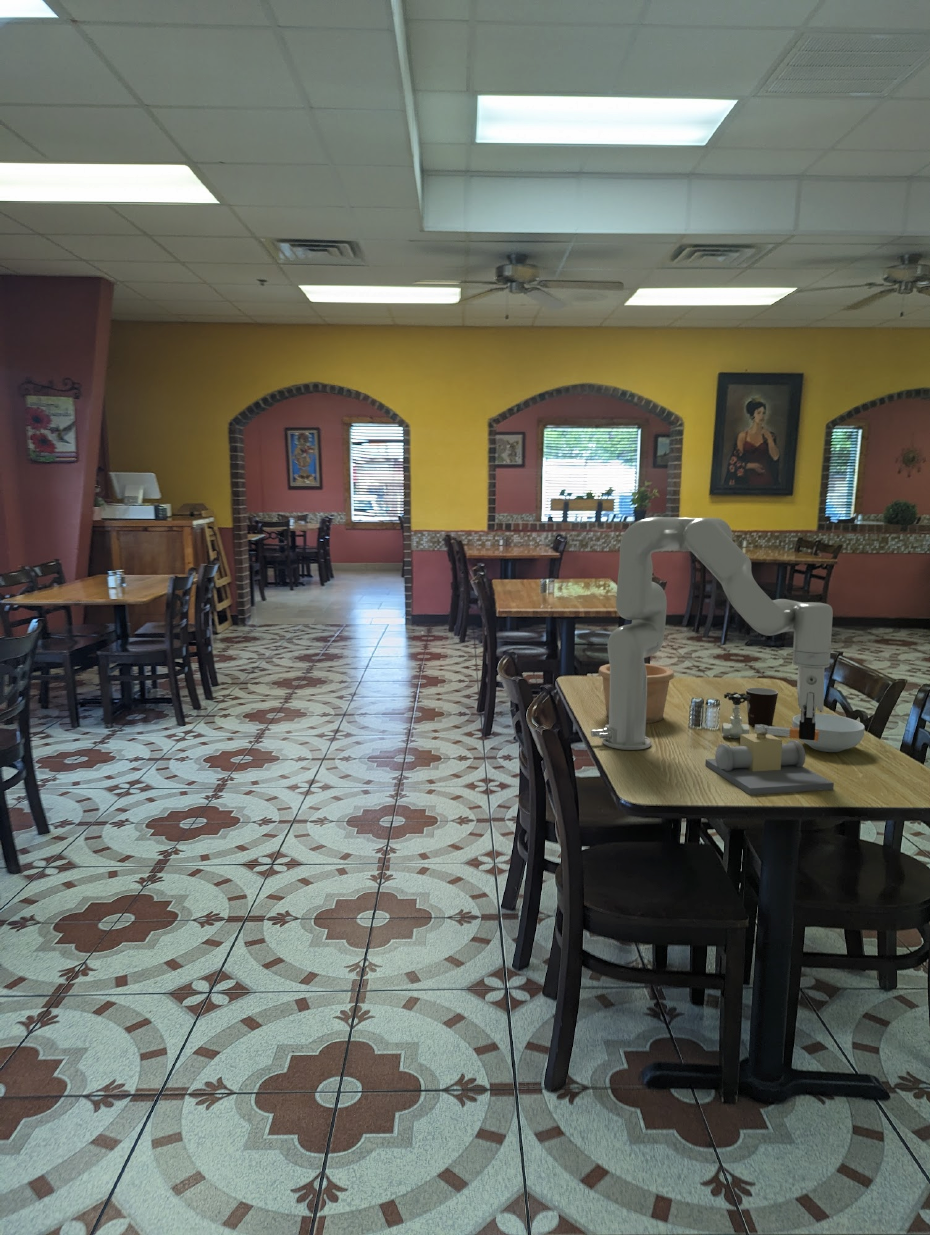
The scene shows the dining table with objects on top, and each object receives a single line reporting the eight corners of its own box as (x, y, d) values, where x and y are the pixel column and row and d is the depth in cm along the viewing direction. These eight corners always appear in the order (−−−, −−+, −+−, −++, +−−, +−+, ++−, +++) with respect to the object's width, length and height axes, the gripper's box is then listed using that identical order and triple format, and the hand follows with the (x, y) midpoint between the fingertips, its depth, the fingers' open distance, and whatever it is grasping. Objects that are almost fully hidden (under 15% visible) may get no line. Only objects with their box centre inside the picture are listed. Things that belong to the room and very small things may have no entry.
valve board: (749, 794, 165) (752, 753, 164) (705, 765, 185) (706, 727, 183) (833, 789, 169) (836, 748, 167) (780, 760, 188) (783, 724, 187)
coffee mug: (773, 730, 215) (775, 695, 213) (741, 726, 219) (743, 692, 218) (780, 721, 224) (782, 687, 223) (750, 717, 229) (751, 684, 228)
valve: (749, 742, 204) (752, 698, 202) (723, 740, 205) (725, 697, 203) (745, 735, 210) (748, 692, 208) (720, 734, 211) (722, 691, 210)
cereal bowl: (792, 753, 194) (794, 726, 193) (789, 736, 210) (790, 710, 209) (867, 761, 188) (869, 733, 188) (858, 742, 204) (860, 716, 203)
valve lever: (754, 734, 178) (754, 726, 177) (754, 731, 180) (755, 723, 180) (818, 741, 172) (818, 732, 172) (817, 737, 175) (818, 729, 175)
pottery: (594, 706, 241) (596, 661, 240) (666, 708, 239) (667, 663, 238) (600, 725, 220) (601, 676, 218) (678, 727, 218) (680, 677, 216)
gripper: (832, 665, 161) (827, 750, 164) (827, 653, 175) (822, 731, 178) (794, 663, 164) (789, 746, 166) (791, 652, 178) (787, 728, 180)
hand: (806, 738), depth 172 cm, fingers closed
